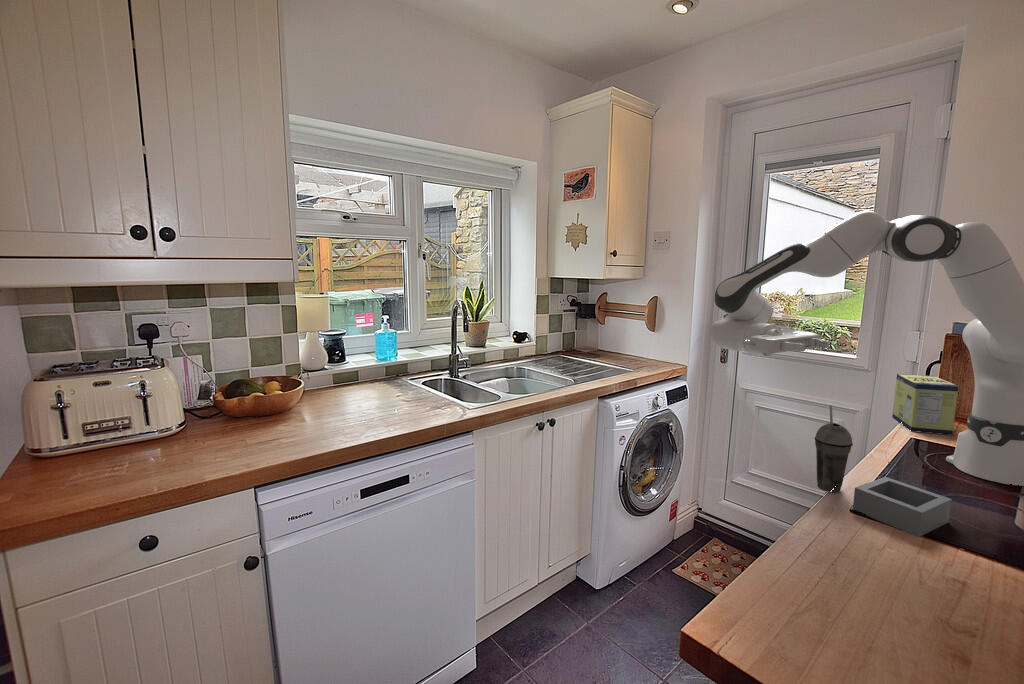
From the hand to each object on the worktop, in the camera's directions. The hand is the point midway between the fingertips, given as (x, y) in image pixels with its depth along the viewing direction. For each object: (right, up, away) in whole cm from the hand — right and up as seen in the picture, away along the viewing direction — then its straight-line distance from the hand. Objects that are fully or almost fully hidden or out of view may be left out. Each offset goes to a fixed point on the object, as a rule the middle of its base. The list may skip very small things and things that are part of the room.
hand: (815, 346), depth 113 cm
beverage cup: (-1, -33, -6) cm, 34 cm away
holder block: (+5, -35, -18) cm, 40 cm away
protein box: (+58, -26, +36) cm, 73 cm away
